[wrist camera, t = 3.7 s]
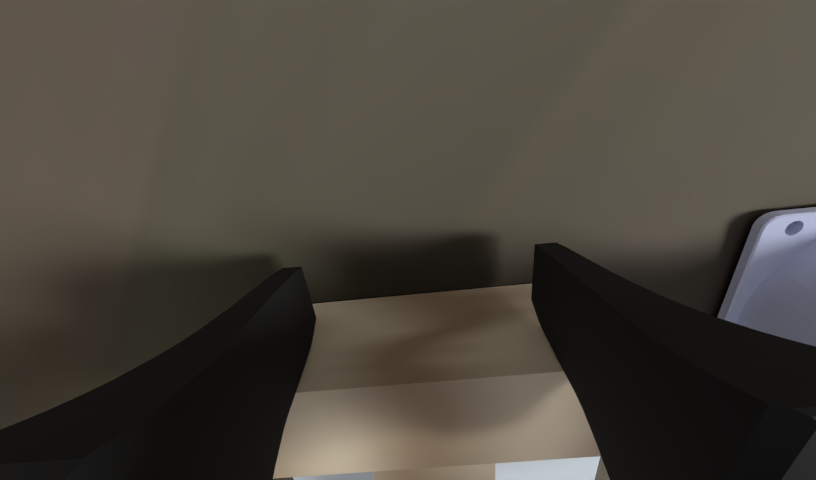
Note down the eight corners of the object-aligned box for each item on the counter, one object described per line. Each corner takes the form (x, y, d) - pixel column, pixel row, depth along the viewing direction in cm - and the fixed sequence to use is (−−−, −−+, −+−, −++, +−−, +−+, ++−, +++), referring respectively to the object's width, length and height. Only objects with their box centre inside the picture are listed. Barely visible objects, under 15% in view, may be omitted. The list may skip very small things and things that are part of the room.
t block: (582, 278, 13) (648, 364, 9) (554, 468, 18) (589, 567, 15) (260, 308, 13) (209, 399, 10) (328, 483, 19) (311, 582, 16)
